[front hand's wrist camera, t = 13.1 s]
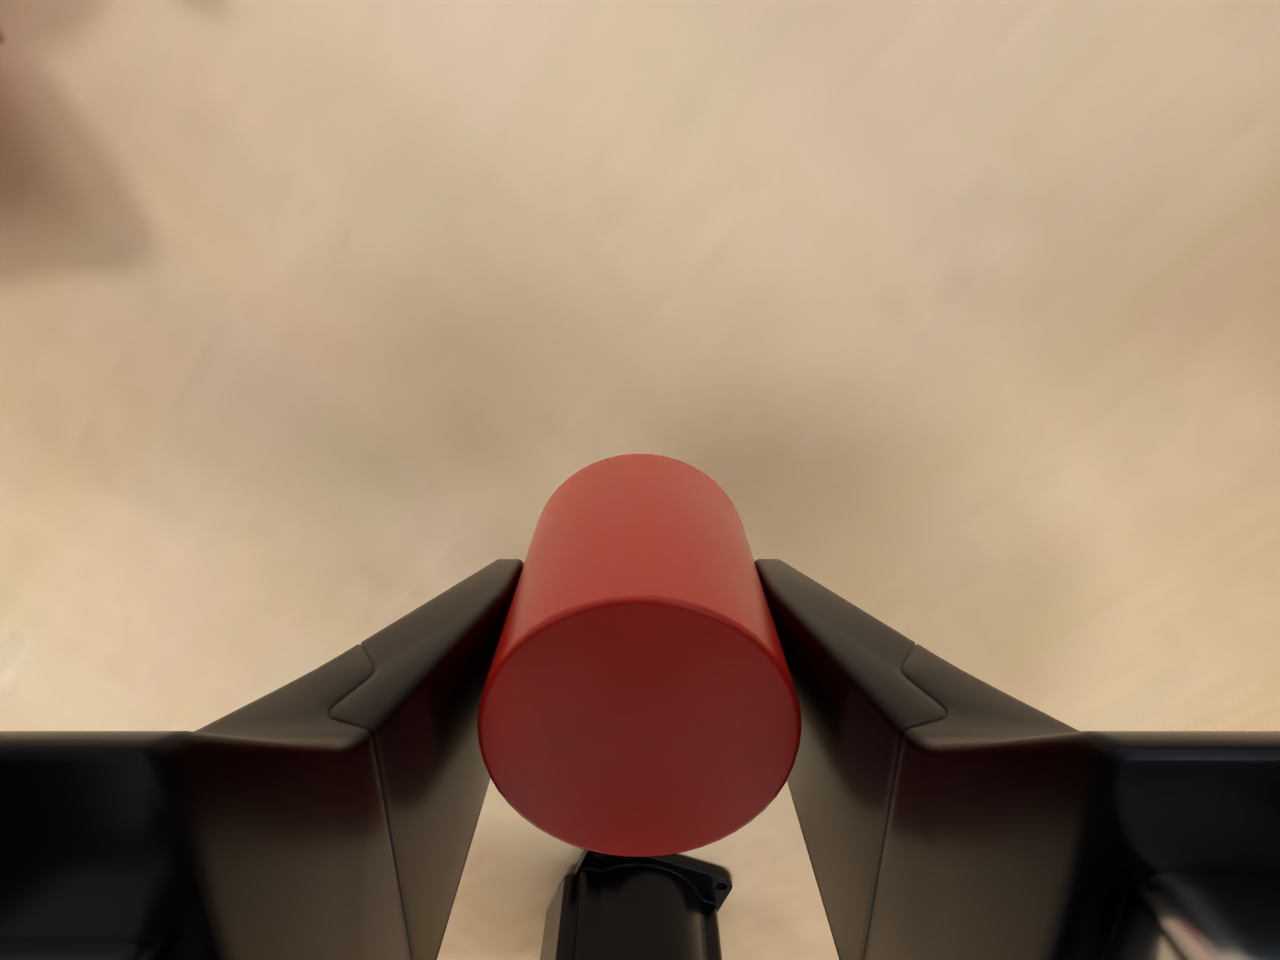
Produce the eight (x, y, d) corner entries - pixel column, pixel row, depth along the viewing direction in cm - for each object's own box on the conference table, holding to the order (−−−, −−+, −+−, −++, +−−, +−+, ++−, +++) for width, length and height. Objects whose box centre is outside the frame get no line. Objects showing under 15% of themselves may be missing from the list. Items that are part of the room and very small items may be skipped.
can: (530, 633, 13) (474, 849, 8) (538, 443, 11) (476, 584, 7) (729, 648, 13) (774, 869, 9) (760, 462, 12) (831, 613, 7)
